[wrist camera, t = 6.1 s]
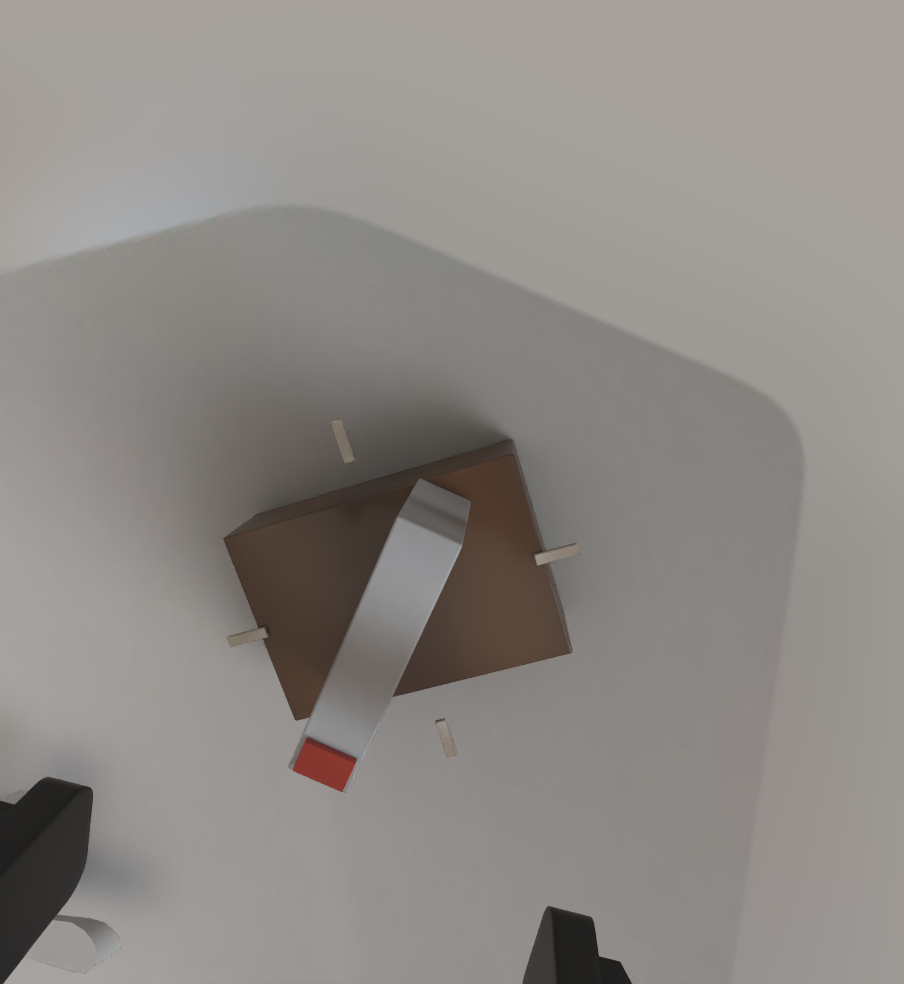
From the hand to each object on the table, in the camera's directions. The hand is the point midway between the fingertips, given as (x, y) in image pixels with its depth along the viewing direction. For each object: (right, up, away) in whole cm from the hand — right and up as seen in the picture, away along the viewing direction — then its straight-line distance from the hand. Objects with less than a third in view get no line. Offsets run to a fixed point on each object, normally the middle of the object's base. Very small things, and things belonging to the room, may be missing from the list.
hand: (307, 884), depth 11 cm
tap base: (+1, +4, +14) cm, 14 cm away
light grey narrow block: (+1, +3, +11) cm, 11 cm away
